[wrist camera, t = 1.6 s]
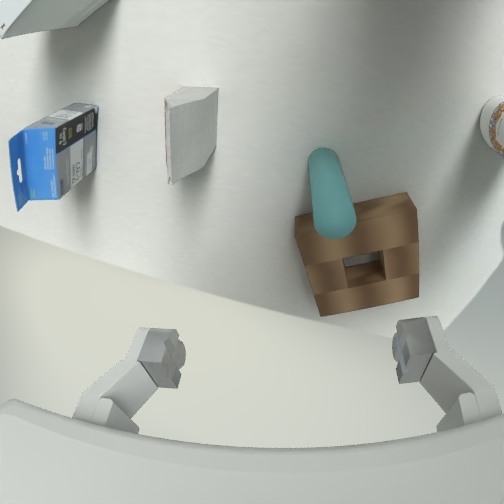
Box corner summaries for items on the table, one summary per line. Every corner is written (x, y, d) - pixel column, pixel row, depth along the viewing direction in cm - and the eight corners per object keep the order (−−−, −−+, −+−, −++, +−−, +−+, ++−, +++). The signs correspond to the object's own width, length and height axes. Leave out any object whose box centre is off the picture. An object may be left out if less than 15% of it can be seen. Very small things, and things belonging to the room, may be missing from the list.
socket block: (406, 192, 35) (416, 209, 31) (412, 277, 42) (418, 297, 39) (295, 216, 39) (294, 236, 36) (319, 296, 46) (320, 316, 43)
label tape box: (96, 169, 37) (42, 221, 28) (72, 163, 37) (15, 212, 27) (99, 104, 32) (33, 142, 22) (73, 101, 32) (5, 137, 22)
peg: (334, 144, 32) (352, 198, 23) (341, 172, 34) (359, 234, 25) (304, 152, 33) (308, 207, 24) (312, 179, 35) (319, 242, 26)
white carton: (218, 87, 30) (191, 109, 22) (216, 146, 34) (191, 186, 26) (184, 86, 30) (146, 108, 22) (184, 144, 34) (151, 183, 27)
